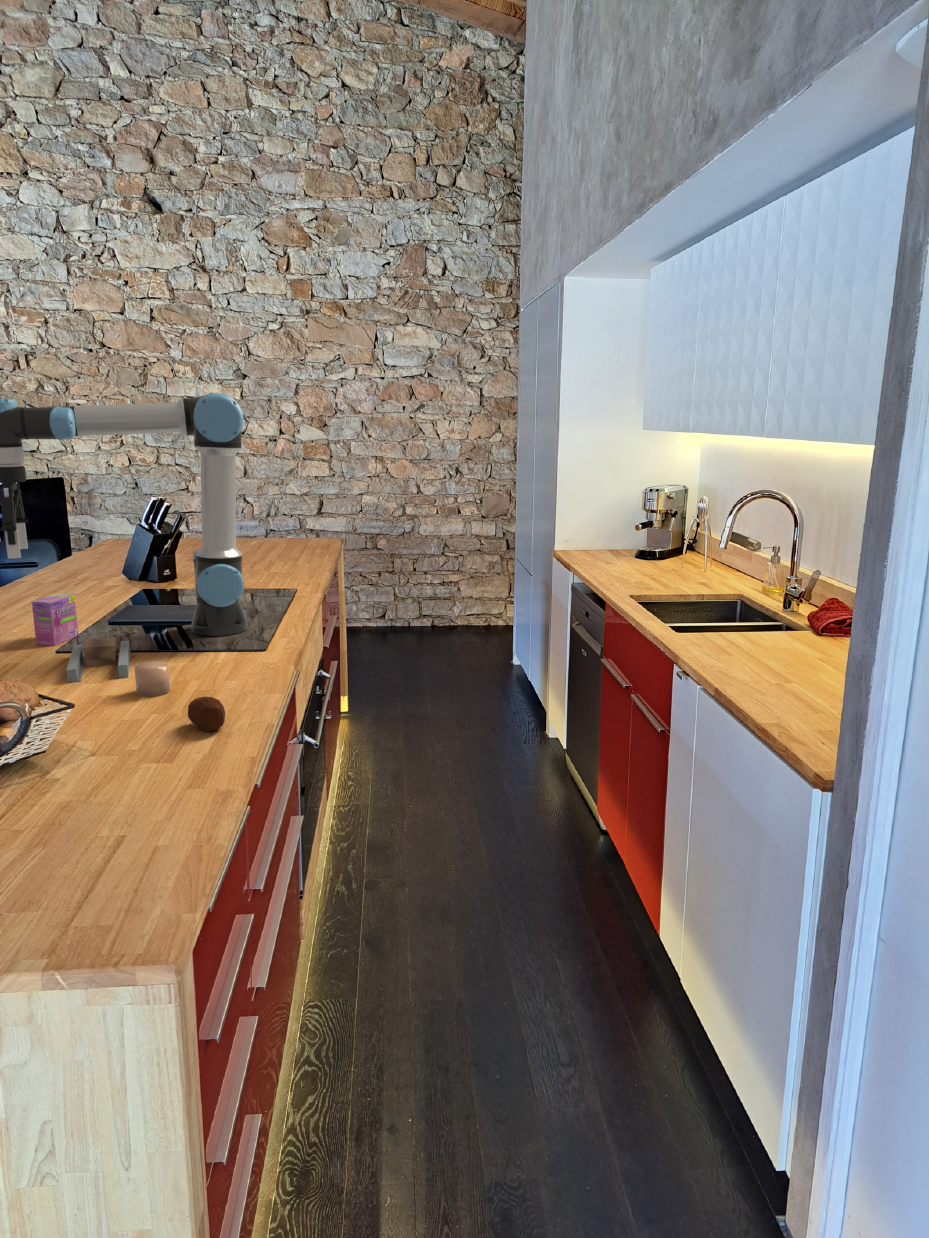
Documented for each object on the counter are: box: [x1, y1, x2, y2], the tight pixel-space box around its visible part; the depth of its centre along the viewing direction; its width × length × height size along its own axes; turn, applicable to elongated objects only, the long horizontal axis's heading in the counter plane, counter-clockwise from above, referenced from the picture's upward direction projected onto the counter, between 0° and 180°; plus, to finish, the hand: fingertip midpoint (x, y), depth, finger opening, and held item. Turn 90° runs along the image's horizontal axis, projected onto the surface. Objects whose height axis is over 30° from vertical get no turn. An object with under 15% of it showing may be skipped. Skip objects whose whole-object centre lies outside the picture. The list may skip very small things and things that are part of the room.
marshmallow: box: [134, 660, 171, 698], centre depth 193 cm, size 7×7×6 cm
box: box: [31, 592, 79, 647], centre depth 233 cm, size 10×6×12 cm, turn 168°
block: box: [83, 636, 119, 668], centre depth 216 cm, size 7×8×5 cm
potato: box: [187, 696, 226, 732], centre depth 172 cm, size 7×9×6 cm
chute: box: [66, 640, 131, 684], centre depth 211 cm, size 13×22×3 cm, turn 19°
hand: (18, 553), depth 213 cm, fingers open, 13 cm apart
